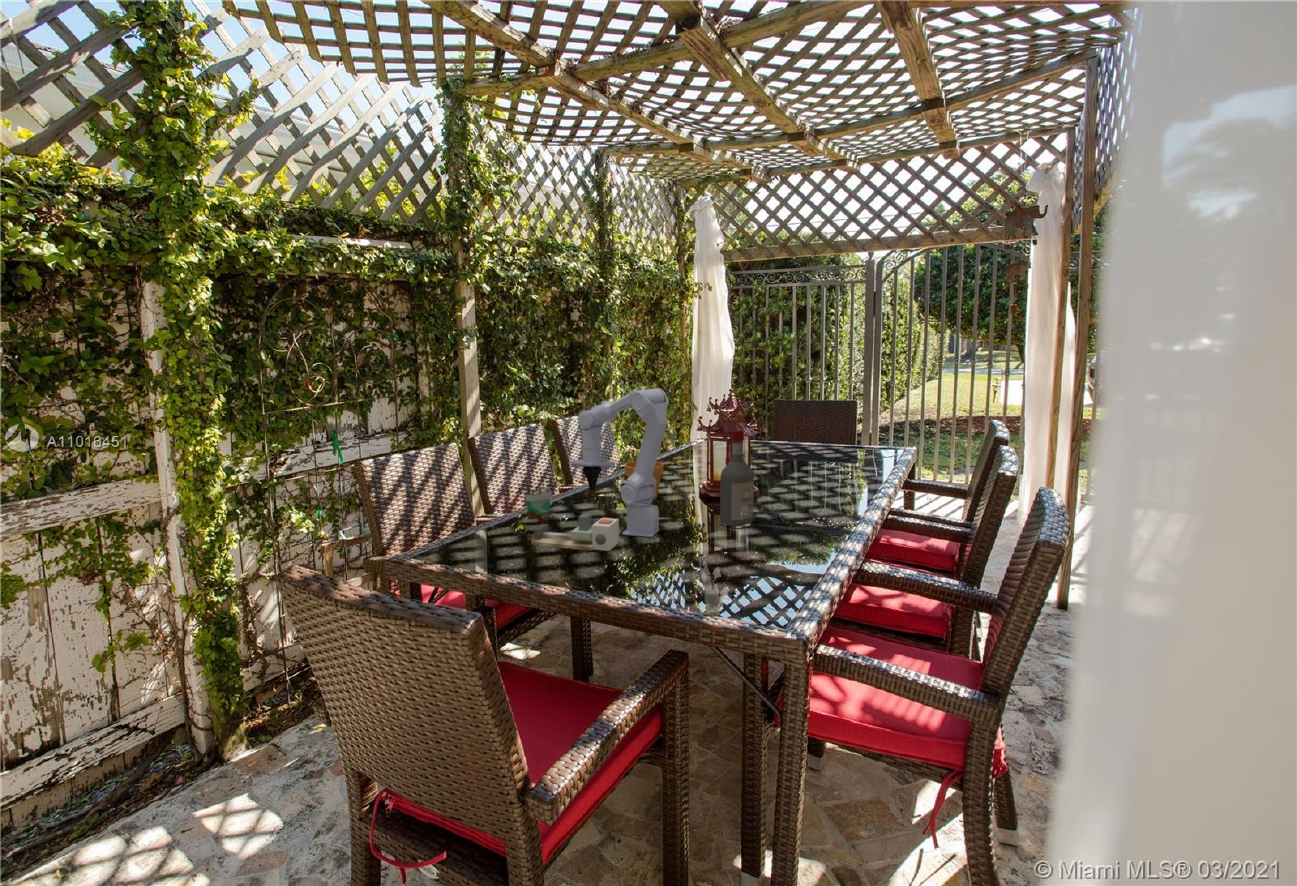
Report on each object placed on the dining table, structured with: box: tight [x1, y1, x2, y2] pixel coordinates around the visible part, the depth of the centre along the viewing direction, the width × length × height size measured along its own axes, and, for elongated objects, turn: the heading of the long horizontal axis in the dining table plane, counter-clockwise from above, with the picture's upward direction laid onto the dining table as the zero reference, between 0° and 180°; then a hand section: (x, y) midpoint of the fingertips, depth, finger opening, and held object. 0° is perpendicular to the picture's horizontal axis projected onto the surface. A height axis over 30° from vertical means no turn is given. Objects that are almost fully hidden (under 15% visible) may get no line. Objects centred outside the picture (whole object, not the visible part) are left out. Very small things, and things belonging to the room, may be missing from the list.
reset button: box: [598, 519, 612, 524], centre depth 189 cm, size 3×3×2 cm
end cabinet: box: [591, 517, 620, 552], centre depth 189 cm, size 5×8×7 cm, turn 163°
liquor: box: [719, 429, 755, 526], centre depth 209 cm, size 9×9×30 cm
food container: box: [525, 486, 553, 524], centre depth 216 cm, size 12×6×10 cm, turn 168°
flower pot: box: [624, 460, 665, 501], centre depth 244 cm, size 14×14×13 cm
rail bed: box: [530, 523, 593, 551], centre depth 193 cm, size 19×10×4 cm, turn 73°
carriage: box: [570, 513, 593, 542], centre depth 191 cm, size 6×7×7 cm
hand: (592, 489), depth 214 cm, fingers closed
